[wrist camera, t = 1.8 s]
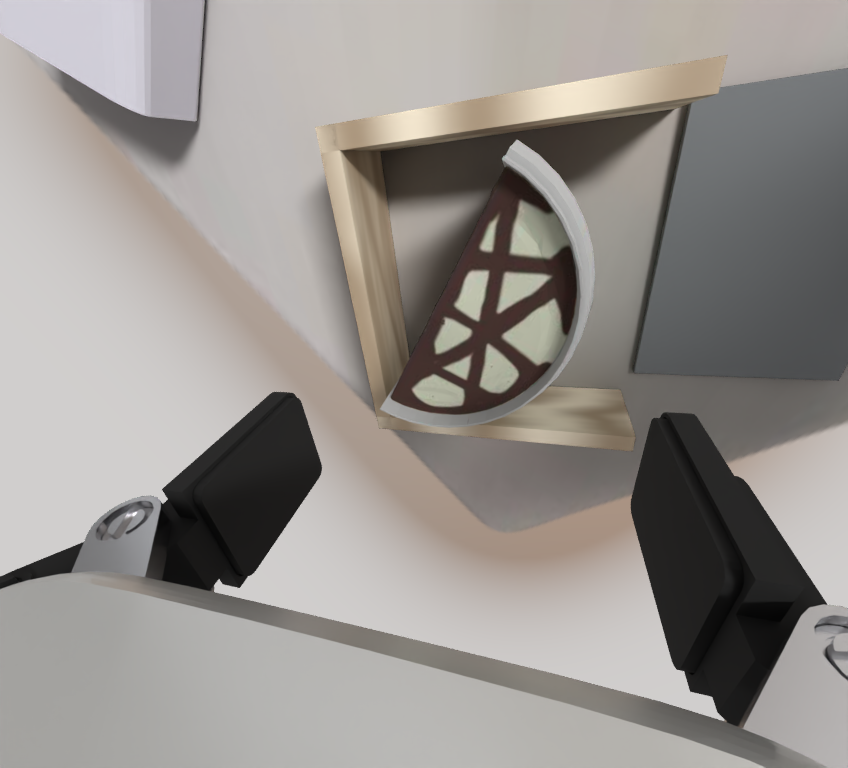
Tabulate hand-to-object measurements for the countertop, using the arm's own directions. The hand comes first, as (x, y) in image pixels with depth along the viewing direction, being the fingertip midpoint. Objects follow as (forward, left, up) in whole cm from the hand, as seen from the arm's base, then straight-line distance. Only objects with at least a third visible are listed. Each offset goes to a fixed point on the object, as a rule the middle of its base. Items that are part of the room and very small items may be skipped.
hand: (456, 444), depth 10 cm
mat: (-13, -1, -15) cm, 20 cm away
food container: (0, 0, -16) cm, 16 cm away
